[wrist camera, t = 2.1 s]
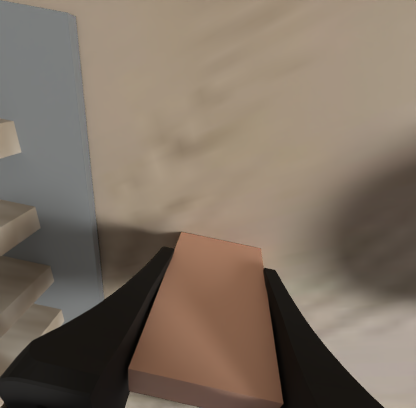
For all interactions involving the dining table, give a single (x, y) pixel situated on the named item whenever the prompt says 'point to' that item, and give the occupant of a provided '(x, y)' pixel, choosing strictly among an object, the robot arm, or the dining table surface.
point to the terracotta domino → (209, 330)
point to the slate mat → (50, 152)
